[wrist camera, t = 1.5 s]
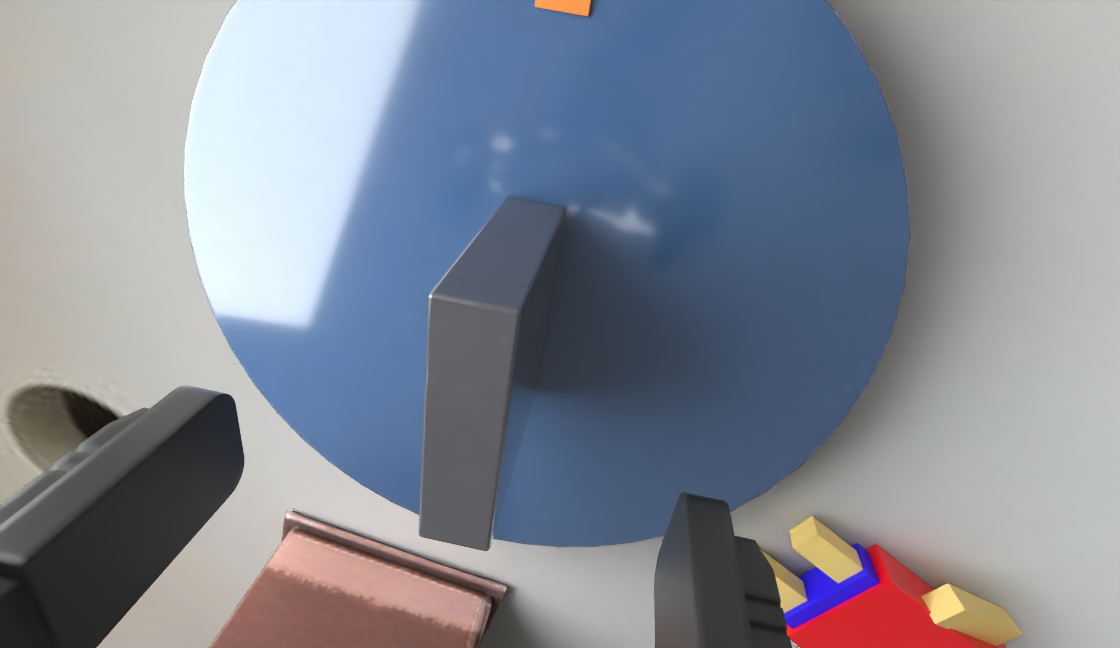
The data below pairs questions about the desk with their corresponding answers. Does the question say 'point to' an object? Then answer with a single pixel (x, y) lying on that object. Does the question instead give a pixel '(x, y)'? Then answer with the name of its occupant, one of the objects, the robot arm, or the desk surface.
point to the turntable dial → (549, 247)
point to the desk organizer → (357, 597)
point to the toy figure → (878, 601)
